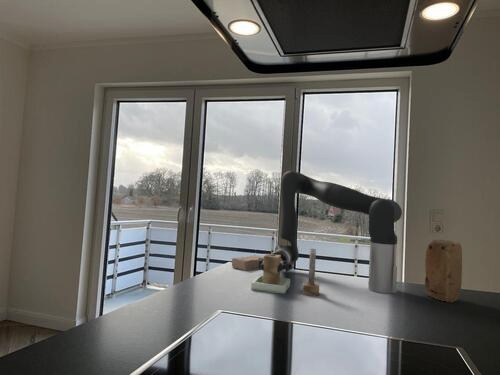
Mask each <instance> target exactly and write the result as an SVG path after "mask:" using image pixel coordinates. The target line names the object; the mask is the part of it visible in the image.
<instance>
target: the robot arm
mask: <svg viewBox="0 0 500 375" xmlns="http://www.w3.org/2000/svg"><path fill="white" fill-rule="evenodd" d="M280 188H281V210H282V213H281V224H280V225H281V226H280V235H279V236H280V238H281V239H282V240H285V241H287V242H289V243H290V245H287V244H277V245H276V246H275V248H274V251H273V252H271V254H274V255H281V263H280V264H279V265H278V267H277V272H280V273H281V272H283V271H284V270H285V271H286V272H289V271H291V270H294V268H295V263H296V262H297V261H298V260H299V255H300V254H299V249H298V248H299V247H298V242H297V241H298V240H297V233H298V225H299V224H298V223H299V222H298V215H297V214H298V213H297V211H296V204H295V195H296V194H301V195H306V196H309V197H312V198H313V197H314V199H317V200H318V201H320V202H321V203H324V204H326V205H329V206H331V207H334V208H337V209H340V210H345V211H349V212H355V213H357V212H358V213H362V214H365V215H368V234H369V237H370V238H369V239H370V241H369V242H370V243H369V244H370V245H369V259H368V260H369V264H368V265H369V266H368V282H367V283H368V286H367V287H368V289H369V290H370V291H373V292H375V293H376V292H377V293H381V294H397V280H398V279H397V278H398V266H397V255H398V254H397V253H398V252H397V251H398V236H397V235H396V233H395V223H396V222H397V221H399V220H400V219H402V218H401V217H402V215H403V211H402V207H401V206H400V204H399V203H398V202H397V201H395V200H393V199H389V198H382V197H377V196H372V195H369V194H366V193H363V192H361V191H358V190H355V189H354V188H351V187H348V186H344V185H341V184H338V183H336V182H335V183H334V182H332V181H331V182H329V181H322V180H321V181H320V180H317V179H314V178H312V177H309V176H307V175H305V174H303V173H301V172H297V171H295V170H288V171H286V172H284V174H283V175H282V176H281V182H280ZM257 269H260V270H261V271H263V270H264V260H263V259H262V258H258V268H257Z"/></svg>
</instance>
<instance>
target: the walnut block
mask: <svg viewBox="0 0 500 375" xmlns="http://www.w3.org/2000/svg"><path fill="white" fill-rule="evenodd" d="M280 263H281V255H274V254H272V253H266V254H265V255H264V270H262V271H263V273H262V274H263V275H262V276H263V283H266V284H274V285H278V284H279V283H280V278H281V271H280V272H277V267H278V265H279V264H280Z"/></svg>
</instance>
